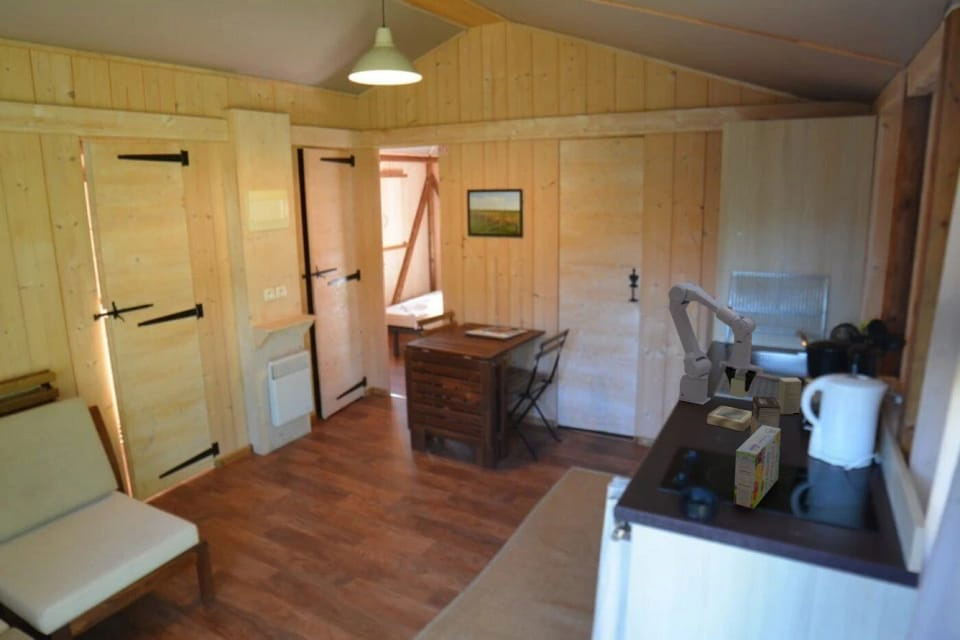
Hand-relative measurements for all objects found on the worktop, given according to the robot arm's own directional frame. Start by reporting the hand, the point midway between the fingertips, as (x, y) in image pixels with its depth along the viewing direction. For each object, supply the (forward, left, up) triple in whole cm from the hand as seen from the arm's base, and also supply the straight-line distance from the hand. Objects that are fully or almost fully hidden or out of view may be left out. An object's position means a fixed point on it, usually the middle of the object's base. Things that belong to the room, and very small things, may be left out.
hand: (739, 389), depth 231 cm
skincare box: (+14, +9, -8) cm, 19 cm away
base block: (+2, -12, -8) cm, 15 cm away
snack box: (+25, -57, -8) cm, 63 cm away
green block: (0, 0, -2) cm, 2 cm away
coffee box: (+18, -30, -8) cm, 36 cm away
